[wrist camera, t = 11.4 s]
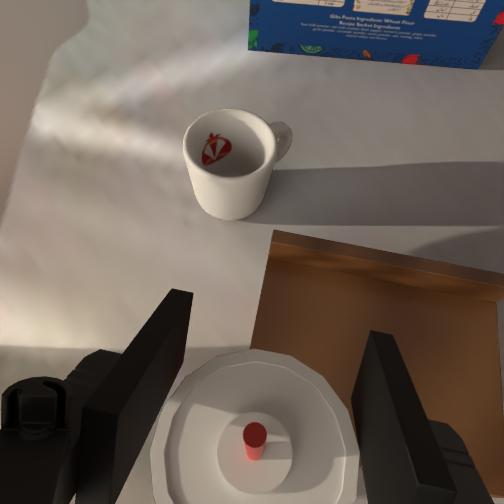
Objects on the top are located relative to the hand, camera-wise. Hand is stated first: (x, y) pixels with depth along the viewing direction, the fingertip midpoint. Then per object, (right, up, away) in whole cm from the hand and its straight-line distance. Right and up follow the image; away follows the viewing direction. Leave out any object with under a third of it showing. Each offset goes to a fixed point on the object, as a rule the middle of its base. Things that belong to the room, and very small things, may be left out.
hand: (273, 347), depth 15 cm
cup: (-2, +9, +30) cm, 32 cm away
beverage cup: (-1, -7, +6) cm, 9 cm away
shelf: (+7, -8, +22) cm, 24 cm away
